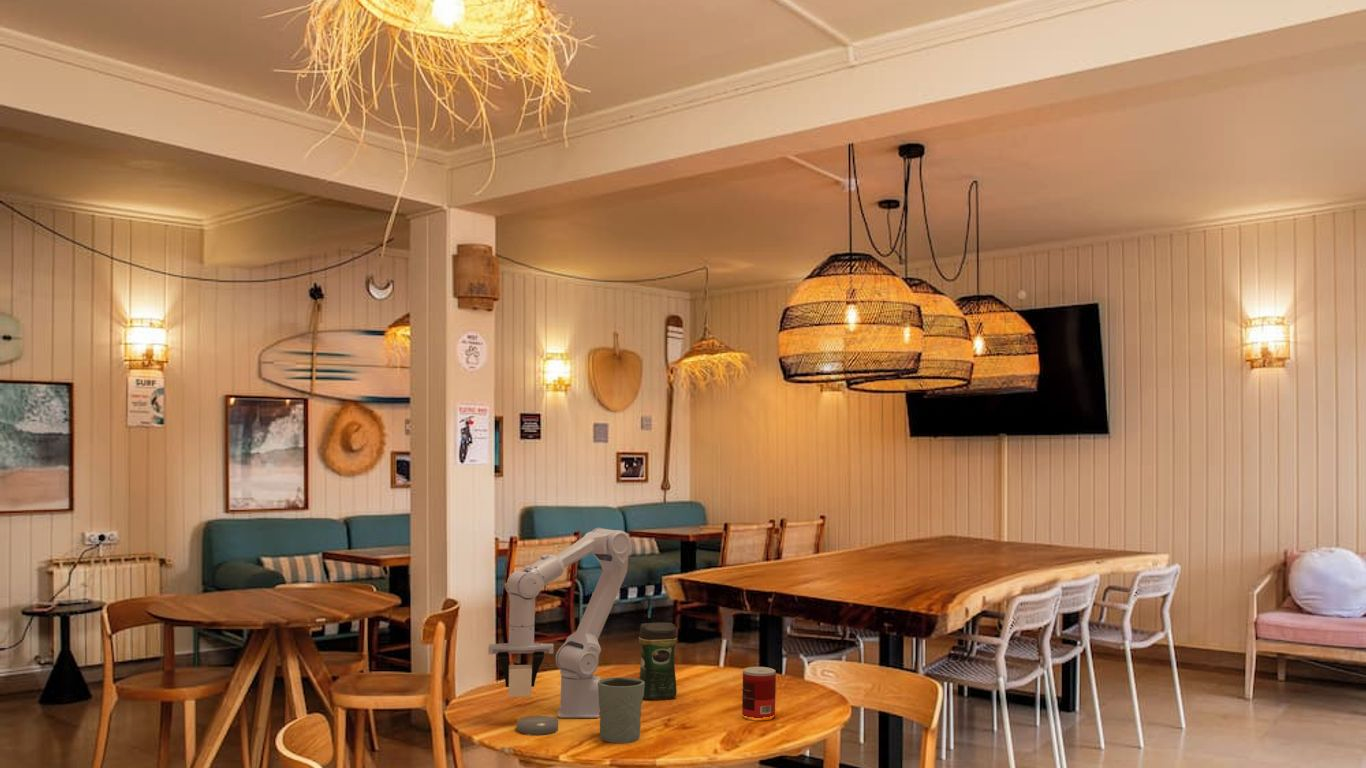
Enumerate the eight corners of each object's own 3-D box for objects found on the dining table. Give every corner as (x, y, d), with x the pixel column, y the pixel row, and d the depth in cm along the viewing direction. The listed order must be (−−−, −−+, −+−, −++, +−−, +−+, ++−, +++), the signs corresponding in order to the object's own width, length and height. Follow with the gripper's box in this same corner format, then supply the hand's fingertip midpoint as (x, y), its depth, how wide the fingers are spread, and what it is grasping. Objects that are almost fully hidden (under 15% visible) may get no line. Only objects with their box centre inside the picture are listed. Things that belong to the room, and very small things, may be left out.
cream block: (530, 691, 243) (531, 664, 243) (531, 696, 238) (531, 669, 238) (508, 691, 242) (509, 665, 242) (508, 696, 237) (509, 669, 237)
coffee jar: (670, 692, 274) (672, 619, 275) (679, 699, 266) (681, 624, 267) (634, 694, 271) (636, 620, 272) (641, 701, 263) (643, 625, 264)
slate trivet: (558, 724, 239) (559, 715, 239) (557, 735, 230) (557, 725, 230) (518, 724, 239) (518, 715, 239) (515, 735, 230) (515, 725, 230)
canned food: (779, 715, 252) (780, 668, 253) (767, 723, 245) (768, 674, 246) (749, 711, 255) (750, 665, 256) (737, 718, 248) (737, 671, 249)
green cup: (605, 745, 223) (606, 687, 224) (589, 733, 232) (591, 677, 233) (650, 741, 227) (651, 684, 228) (633, 729, 237) (634, 675, 237)
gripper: (553, 622, 246) (551, 681, 245) (489, 622, 243) (487, 682, 243) (554, 627, 239) (552, 688, 238) (489, 627, 237) (487, 689, 236)
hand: (519, 686), depth 240 cm, fingers closed on cream block, 5 cm apart
